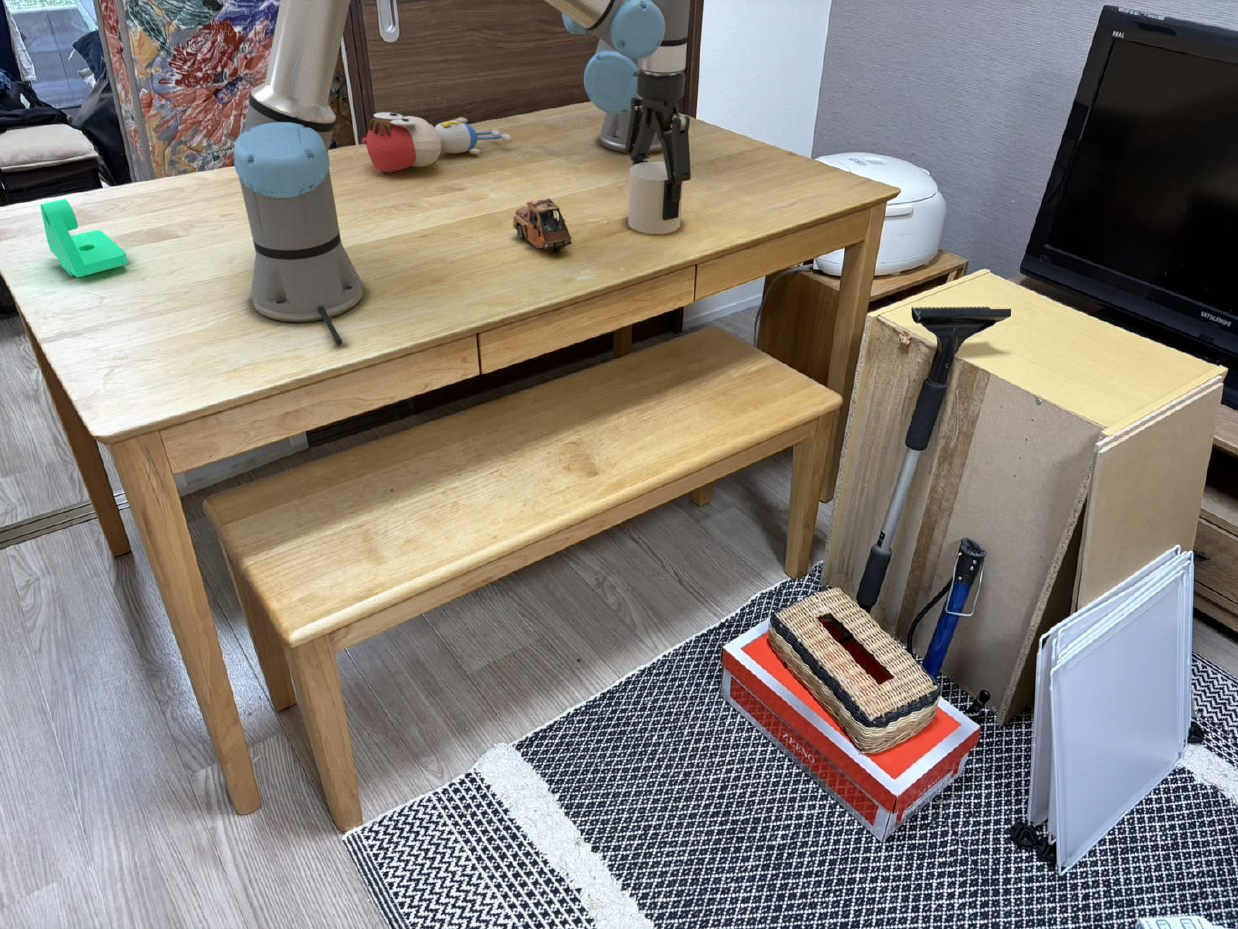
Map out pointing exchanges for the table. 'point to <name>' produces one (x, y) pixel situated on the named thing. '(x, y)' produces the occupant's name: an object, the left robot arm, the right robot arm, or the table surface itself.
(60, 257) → the camera mount
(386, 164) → the toy
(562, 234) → the toy car
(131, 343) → the table surface
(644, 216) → the canister
